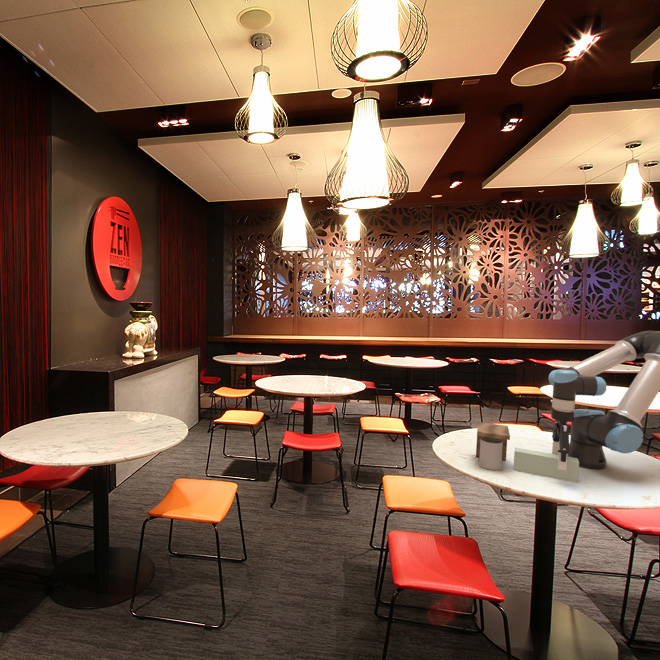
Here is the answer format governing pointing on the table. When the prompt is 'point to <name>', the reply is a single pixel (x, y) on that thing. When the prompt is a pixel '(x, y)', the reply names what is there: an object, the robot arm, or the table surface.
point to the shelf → (493, 436)
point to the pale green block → (545, 465)
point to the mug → (490, 453)
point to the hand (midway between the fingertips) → (558, 463)
